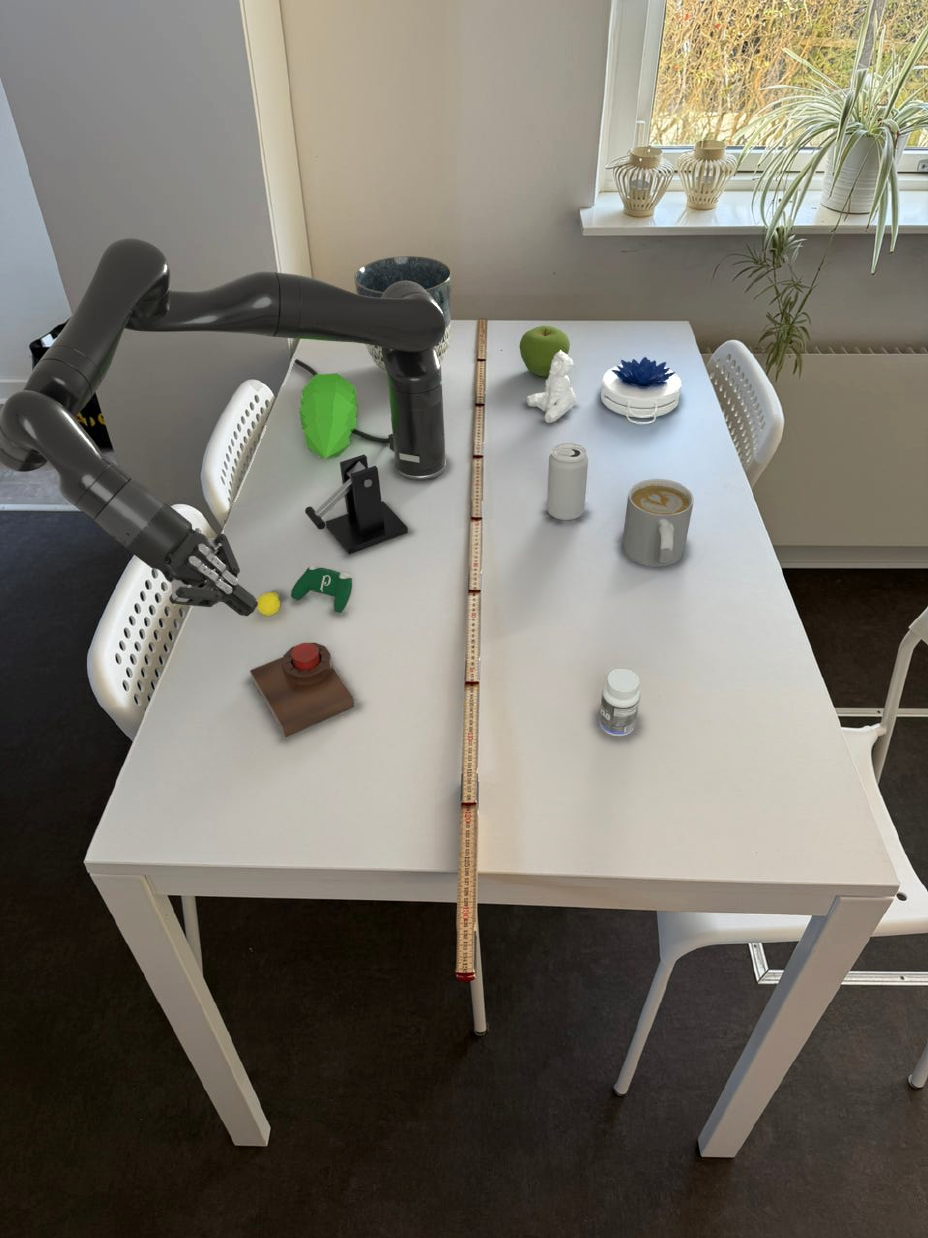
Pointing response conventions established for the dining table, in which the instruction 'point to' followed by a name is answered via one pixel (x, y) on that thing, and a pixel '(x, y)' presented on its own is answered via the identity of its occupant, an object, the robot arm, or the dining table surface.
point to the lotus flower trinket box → (641, 389)
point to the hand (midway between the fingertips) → (252, 610)
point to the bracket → (364, 511)
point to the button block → (301, 691)
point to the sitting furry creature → (556, 389)
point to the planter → (408, 268)
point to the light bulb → (269, 603)
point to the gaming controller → (324, 585)
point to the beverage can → (567, 481)
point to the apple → (542, 348)
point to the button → (305, 656)
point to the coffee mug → (657, 522)
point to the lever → (332, 500)
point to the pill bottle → (619, 702)
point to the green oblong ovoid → (328, 414)
